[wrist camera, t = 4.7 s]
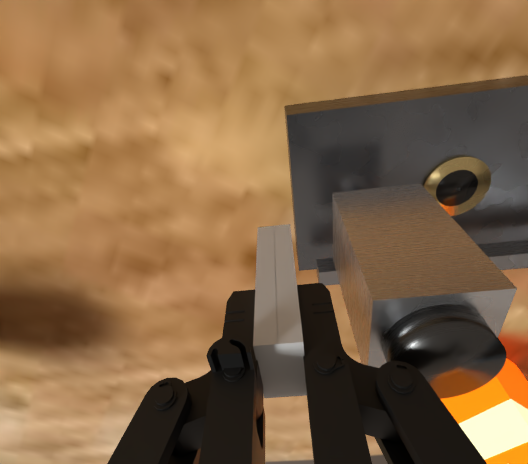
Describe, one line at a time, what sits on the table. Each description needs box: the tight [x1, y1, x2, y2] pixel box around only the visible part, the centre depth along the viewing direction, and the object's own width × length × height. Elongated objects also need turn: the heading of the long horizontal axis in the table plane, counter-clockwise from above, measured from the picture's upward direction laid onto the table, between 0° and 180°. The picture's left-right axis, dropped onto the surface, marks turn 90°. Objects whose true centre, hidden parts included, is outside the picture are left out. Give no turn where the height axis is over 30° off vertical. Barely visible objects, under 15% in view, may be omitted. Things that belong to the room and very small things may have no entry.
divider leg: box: [332, 183, 517, 399], centre depth 14 cm, size 4×4×10 cm
